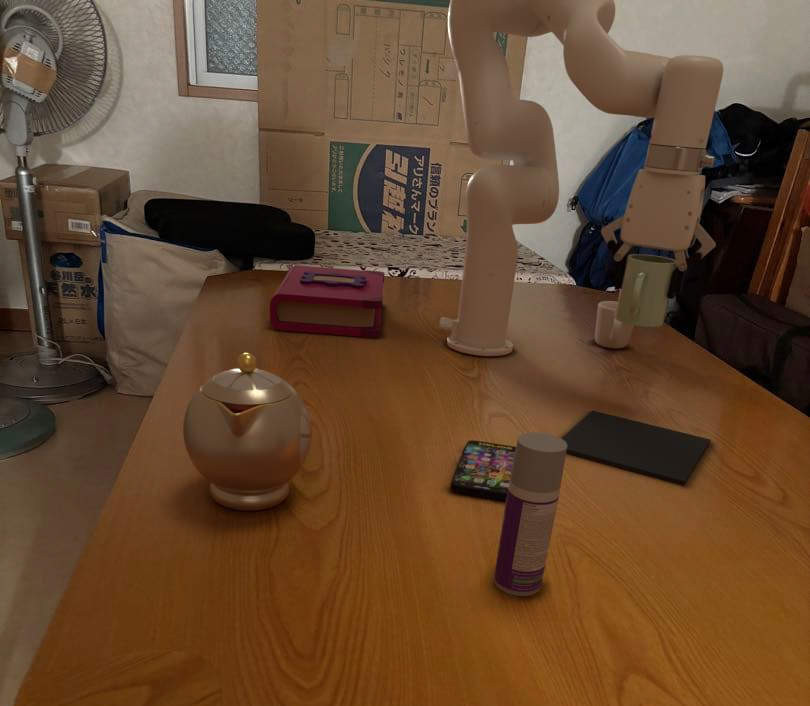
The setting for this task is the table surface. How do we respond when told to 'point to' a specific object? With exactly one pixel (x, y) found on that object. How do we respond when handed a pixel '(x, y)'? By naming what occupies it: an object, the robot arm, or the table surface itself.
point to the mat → (636, 446)
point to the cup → (611, 327)
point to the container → (529, 513)
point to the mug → (645, 290)
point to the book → (329, 301)
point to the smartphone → (484, 470)
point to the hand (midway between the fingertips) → (645, 292)
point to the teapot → (247, 435)
